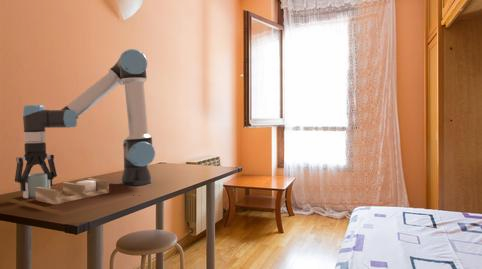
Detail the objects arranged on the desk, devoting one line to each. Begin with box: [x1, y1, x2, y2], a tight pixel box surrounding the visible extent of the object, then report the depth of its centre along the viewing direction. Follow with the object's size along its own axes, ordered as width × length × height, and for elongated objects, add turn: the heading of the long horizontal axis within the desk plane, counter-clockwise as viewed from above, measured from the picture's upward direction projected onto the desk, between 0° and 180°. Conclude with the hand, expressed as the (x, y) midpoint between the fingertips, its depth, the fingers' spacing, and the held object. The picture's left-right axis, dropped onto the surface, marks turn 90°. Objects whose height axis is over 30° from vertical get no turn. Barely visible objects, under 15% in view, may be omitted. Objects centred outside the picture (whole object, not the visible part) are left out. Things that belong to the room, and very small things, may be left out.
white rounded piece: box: [75, 179, 96, 193], centre depth 136 cm, size 8×8×5 cm
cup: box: [26, 172, 48, 198], centre depth 133 cm, size 8×8×10 cm
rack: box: [35, 177, 110, 205], centre depth 131 cm, size 23×14×6 cm, turn 148°
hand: (37, 196), depth 133 cm, fingers closed on cup, 8 cm apart
